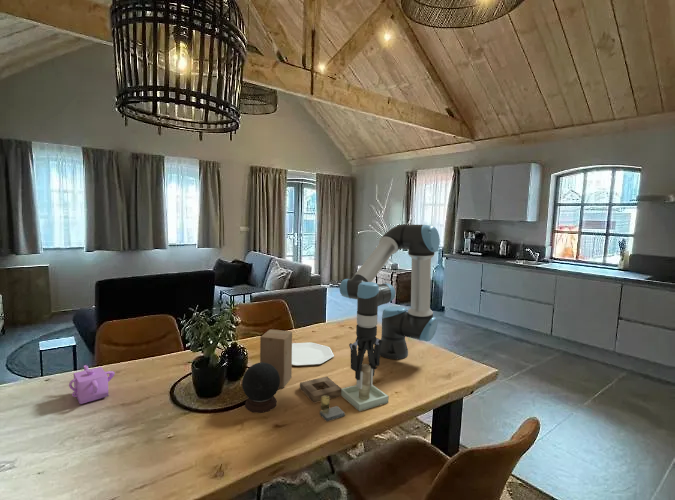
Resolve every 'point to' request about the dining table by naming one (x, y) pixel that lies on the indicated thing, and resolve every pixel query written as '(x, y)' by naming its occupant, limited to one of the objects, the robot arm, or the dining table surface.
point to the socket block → (312, 386)
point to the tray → (374, 400)
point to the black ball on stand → (261, 387)
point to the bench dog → (325, 402)
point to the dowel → (365, 382)
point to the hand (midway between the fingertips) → (364, 385)
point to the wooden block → (278, 353)
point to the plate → (310, 354)
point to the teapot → (90, 384)
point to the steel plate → (332, 413)
